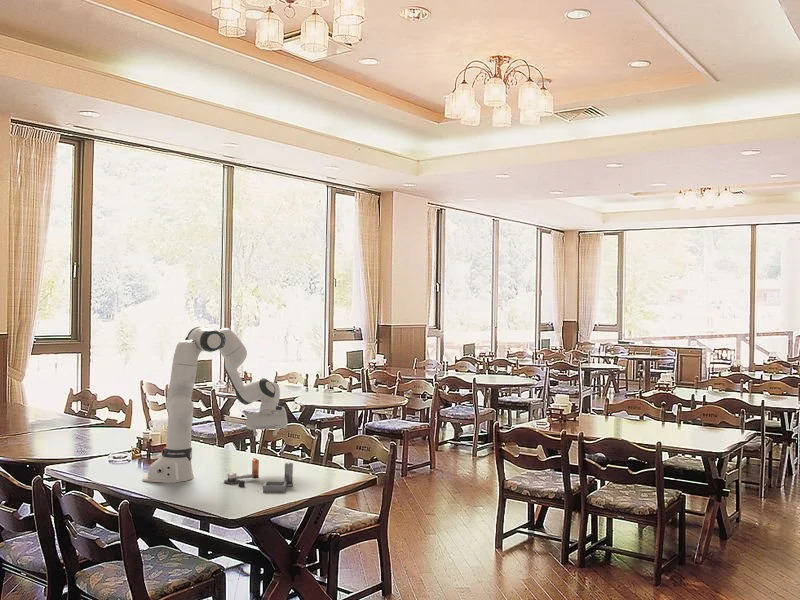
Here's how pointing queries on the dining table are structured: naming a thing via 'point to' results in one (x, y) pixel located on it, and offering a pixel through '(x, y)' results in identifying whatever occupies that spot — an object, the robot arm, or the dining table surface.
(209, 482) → the dining table surface
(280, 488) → the tray
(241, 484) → the stop block
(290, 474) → the pin
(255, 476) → the crank
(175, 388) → the robot arm
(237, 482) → the crank base
